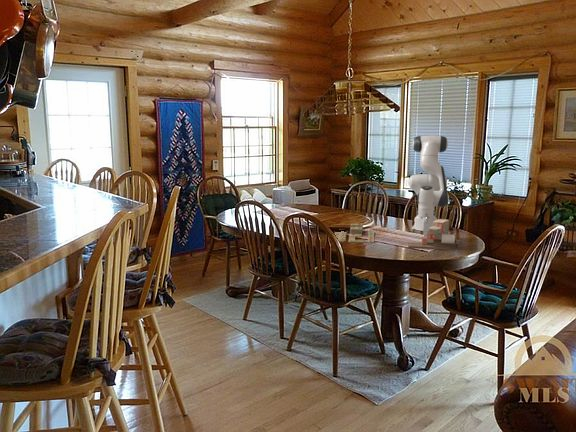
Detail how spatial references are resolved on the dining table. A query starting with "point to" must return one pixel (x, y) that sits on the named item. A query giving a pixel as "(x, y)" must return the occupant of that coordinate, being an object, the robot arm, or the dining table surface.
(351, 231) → the pile of dominoes
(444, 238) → the block
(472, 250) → the dining table surface
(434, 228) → the stack of blocks
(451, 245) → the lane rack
